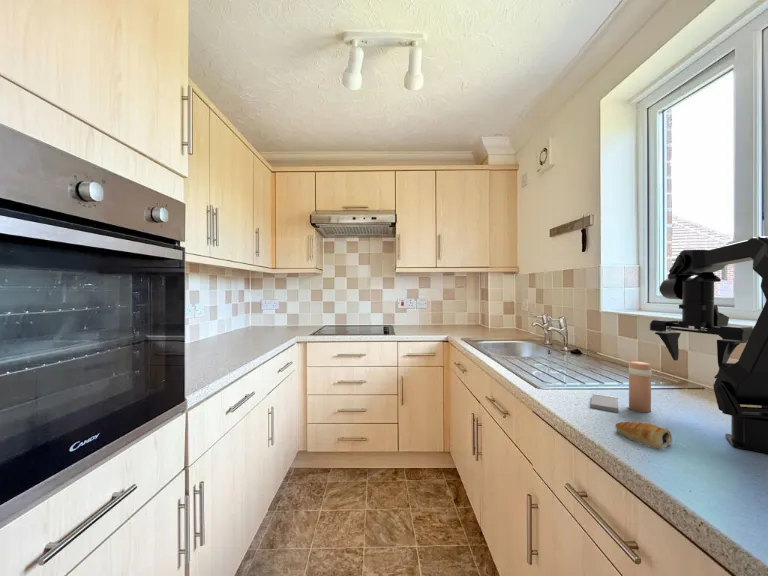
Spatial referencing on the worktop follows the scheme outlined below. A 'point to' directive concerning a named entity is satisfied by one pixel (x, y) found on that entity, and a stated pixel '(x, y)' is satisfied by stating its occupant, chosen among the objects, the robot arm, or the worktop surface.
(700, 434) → the worktop surface
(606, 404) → the pad
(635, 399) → the stub
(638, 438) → the pastry
